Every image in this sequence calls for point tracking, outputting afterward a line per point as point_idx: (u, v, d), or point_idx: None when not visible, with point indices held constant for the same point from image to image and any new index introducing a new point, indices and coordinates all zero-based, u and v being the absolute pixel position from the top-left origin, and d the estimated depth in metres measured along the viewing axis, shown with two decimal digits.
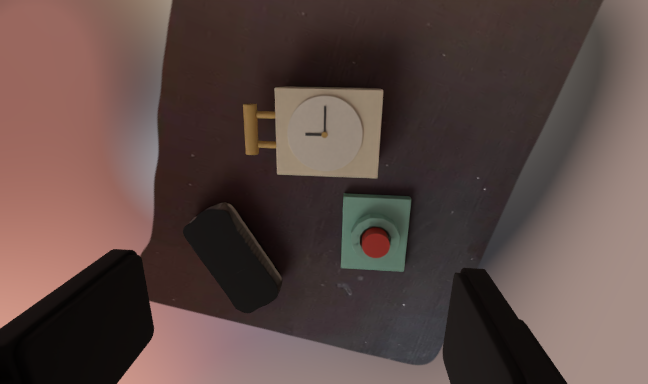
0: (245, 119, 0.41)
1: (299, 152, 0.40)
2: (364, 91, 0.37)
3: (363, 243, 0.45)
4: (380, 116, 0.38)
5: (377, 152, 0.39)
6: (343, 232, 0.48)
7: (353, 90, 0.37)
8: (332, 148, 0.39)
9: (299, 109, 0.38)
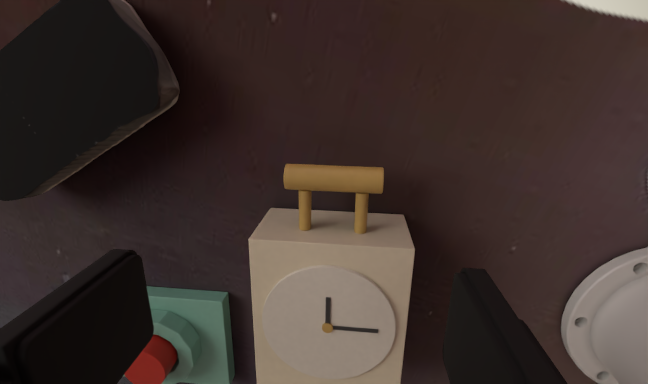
0: (354, 175, 0.20)
1: (294, 285, 0.21)
2: (397, 381, 0.23)
3: (143, 353, 0.26)
4: None
5: None
6: (160, 298, 0.28)
7: (400, 367, 0.23)
8: (303, 336, 0.22)
9: (373, 291, 0.21)
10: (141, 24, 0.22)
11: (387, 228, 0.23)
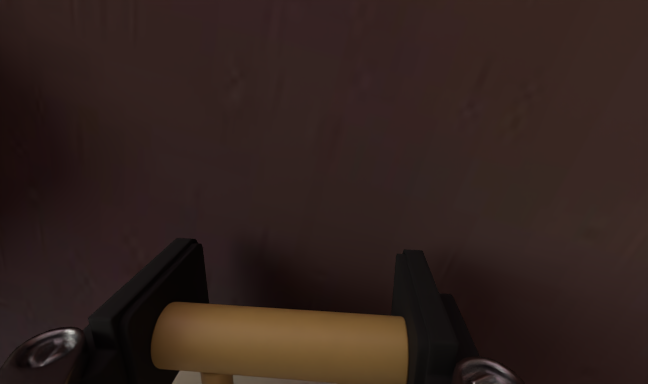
0: (331, 352, 0.08)
1: None
2: None
3: None
4: None
5: None
6: None
7: None
8: None
9: None
10: None
11: None
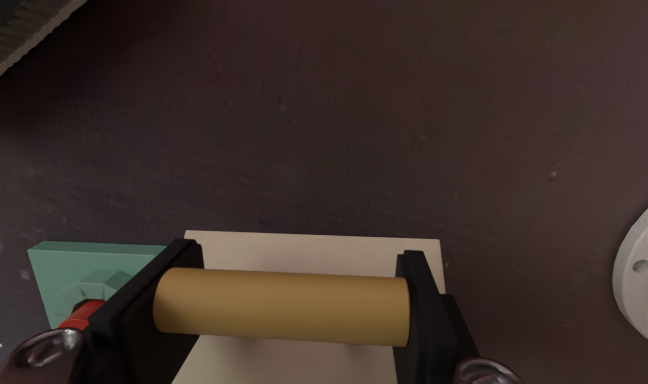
0: (332, 333, 0.08)
1: None
2: None
3: (81, 321, 0.20)
4: None
5: None
6: (107, 255, 0.23)
7: None
8: None
9: None
10: None
11: None
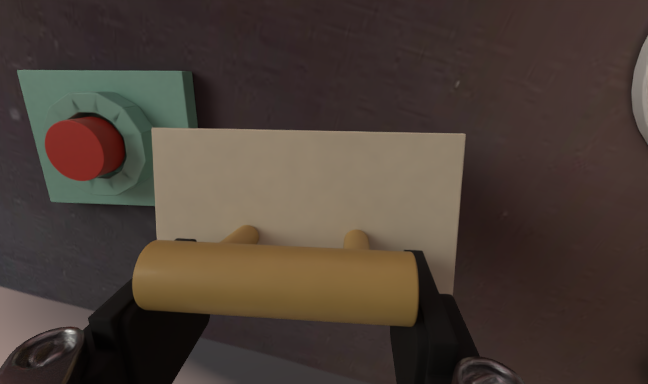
0: (332, 321, 0.07)
1: None
2: None
3: (72, 123, 0.19)
4: None
5: None
6: (100, 73, 0.21)
7: None
8: None
9: None
10: None
11: (413, 222, 0.11)
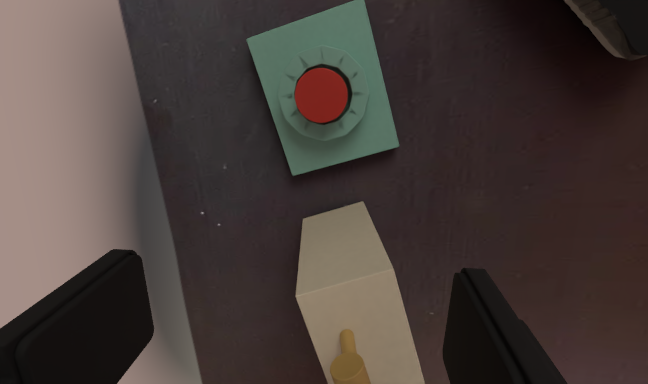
0: None
1: None
2: None
3: (344, 92, 0.23)
4: None
5: None
6: (380, 79, 0.26)
7: None
8: None
9: None
10: None
11: None
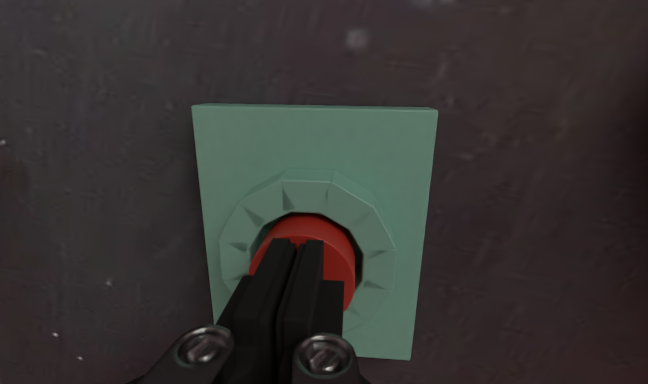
0: None
1: None
2: None
3: (349, 293, 0.11)
4: None
5: None
6: (417, 255, 0.14)
7: None
8: None
9: None
10: None
11: None
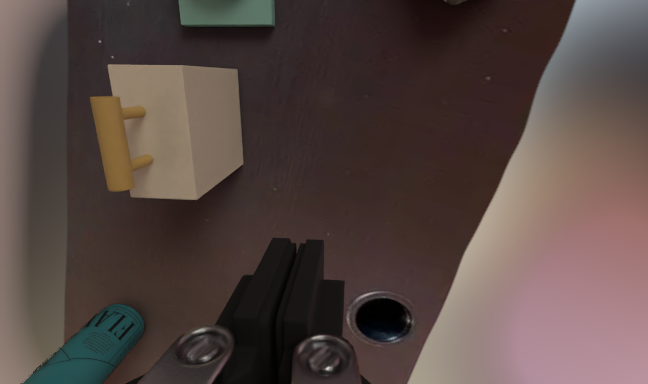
0: (103, 164, 0.22)
1: None
2: None
3: None
4: None
5: None
6: None
7: None
8: None
9: None
10: None
11: (160, 181, 0.27)
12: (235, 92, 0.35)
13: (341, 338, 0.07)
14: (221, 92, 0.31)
